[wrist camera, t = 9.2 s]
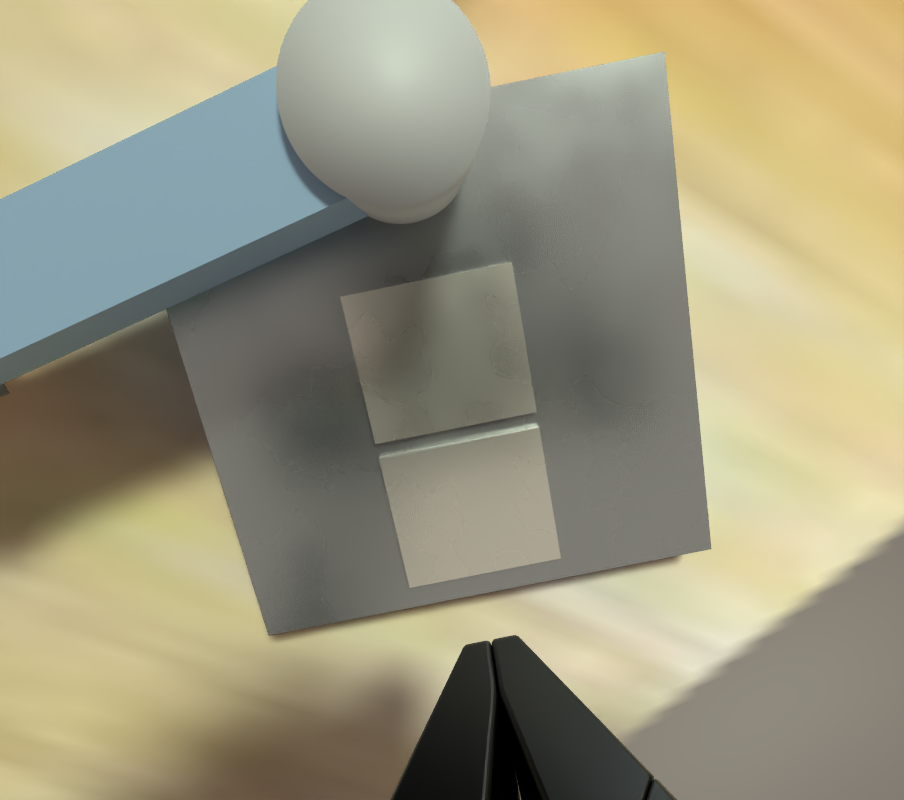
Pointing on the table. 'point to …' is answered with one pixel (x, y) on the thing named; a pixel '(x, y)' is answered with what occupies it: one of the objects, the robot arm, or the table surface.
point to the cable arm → (247, 175)
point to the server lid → (468, 372)
